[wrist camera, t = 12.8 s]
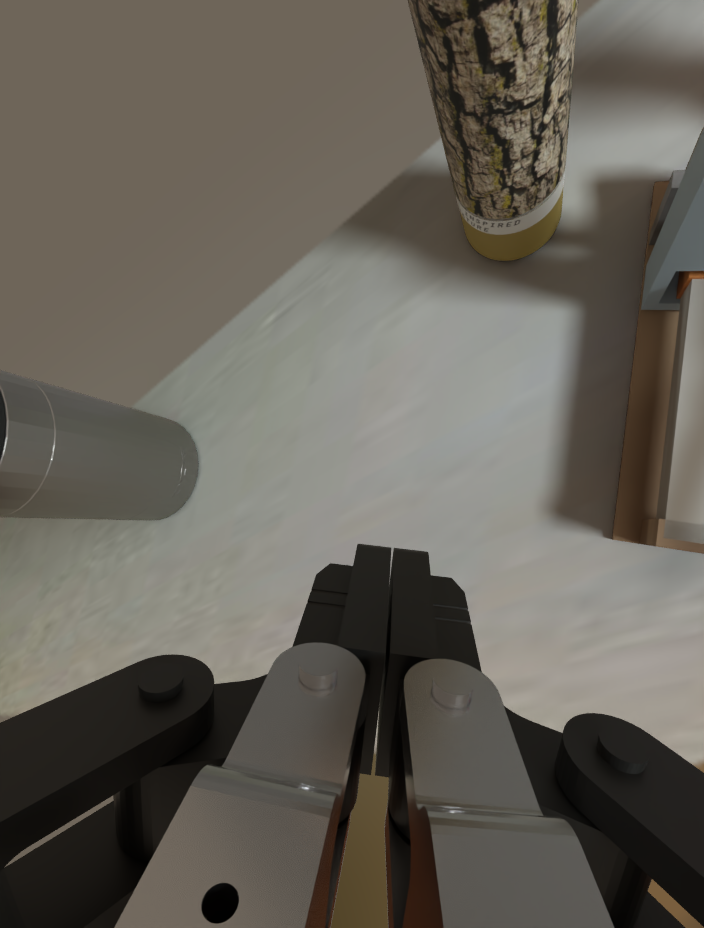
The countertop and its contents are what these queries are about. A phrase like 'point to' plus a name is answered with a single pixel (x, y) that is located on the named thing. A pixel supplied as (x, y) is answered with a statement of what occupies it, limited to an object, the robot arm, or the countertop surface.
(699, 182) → the light blue block
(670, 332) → the rail
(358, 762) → the robot arm
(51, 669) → the countertop surface
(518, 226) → the paper tube
